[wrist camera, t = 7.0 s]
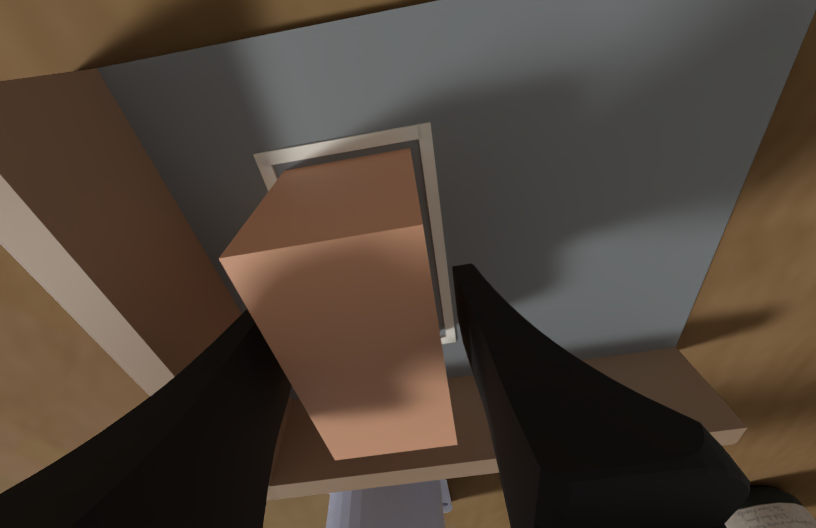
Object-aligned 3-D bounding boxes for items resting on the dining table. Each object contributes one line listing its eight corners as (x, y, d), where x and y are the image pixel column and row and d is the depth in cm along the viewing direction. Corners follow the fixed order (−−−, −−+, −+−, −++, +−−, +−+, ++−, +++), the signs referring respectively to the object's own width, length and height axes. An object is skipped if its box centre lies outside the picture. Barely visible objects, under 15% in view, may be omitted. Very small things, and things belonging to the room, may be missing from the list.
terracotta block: (284, 170, 11) (218, 258, 7) (410, 147, 11) (423, 224, 6) (350, 343, 15) (334, 460, 11) (439, 330, 15) (457, 444, 11)
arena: (662, 355, 17) (735, 443, 14) (280, 407, 19) (253, 502, 15) (831, -77, 8) (1179, -160, 5) (69, 74, 10) (-137, 103, 6)
